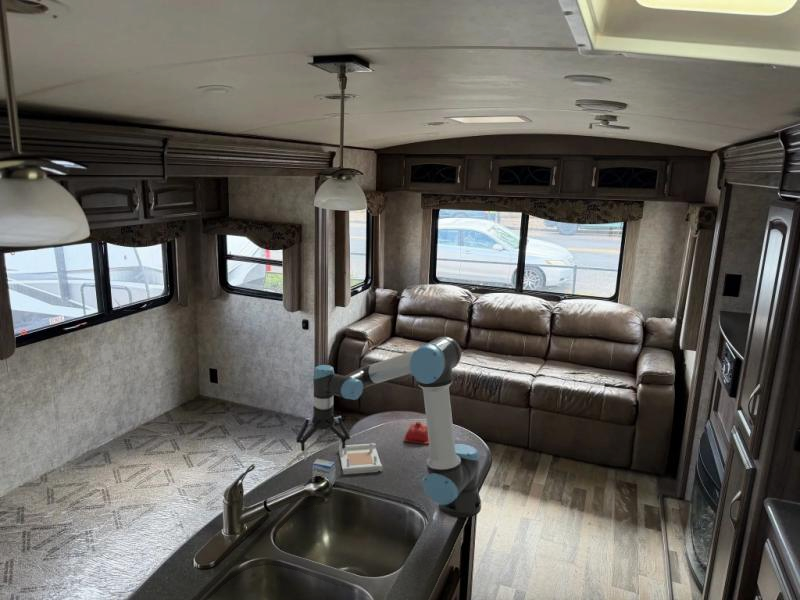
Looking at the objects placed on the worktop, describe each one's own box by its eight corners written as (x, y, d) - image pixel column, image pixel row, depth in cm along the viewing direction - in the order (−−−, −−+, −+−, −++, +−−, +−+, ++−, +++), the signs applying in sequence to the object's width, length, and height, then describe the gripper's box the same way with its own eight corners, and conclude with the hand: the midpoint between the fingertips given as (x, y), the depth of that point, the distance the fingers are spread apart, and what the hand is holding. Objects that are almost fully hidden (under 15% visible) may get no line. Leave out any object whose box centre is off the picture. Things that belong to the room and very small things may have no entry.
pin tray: (382, 471, 225) (382, 461, 224) (343, 474, 222) (343, 464, 221) (375, 448, 244) (375, 439, 244) (339, 451, 241) (339, 441, 240)
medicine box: (312, 483, 215) (312, 463, 213) (317, 478, 219) (317, 458, 217) (331, 487, 213) (330, 466, 211) (335, 481, 217) (335, 461, 215)
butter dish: (431, 435, 259) (432, 418, 258) (428, 446, 248) (429, 428, 247) (407, 432, 261) (407, 415, 260) (403, 443, 250) (403, 426, 248)
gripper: (355, 400, 215) (354, 450, 220) (289, 403, 210) (290, 454, 215) (357, 408, 208) (356, 459, 213) (289, 411, 203) (290, 463, 208)
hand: (323, 457), depth 214 cm, fingers open, 13 cm apart
